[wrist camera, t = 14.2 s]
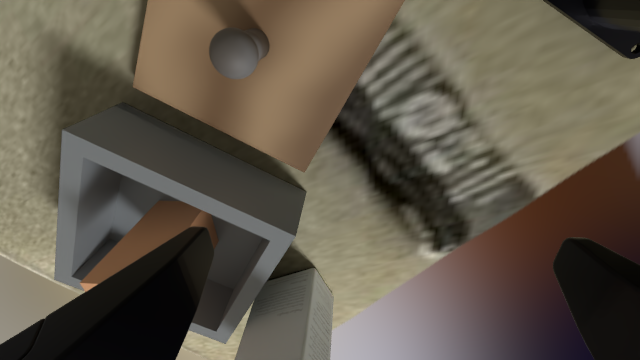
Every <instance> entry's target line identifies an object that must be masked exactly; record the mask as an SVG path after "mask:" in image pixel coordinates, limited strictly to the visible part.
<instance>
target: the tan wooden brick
mask: <svg viewBox="0 0 640 360" xmlns="http://www.w3.org/2000/svg"><path fill="white" fill-rule="evenodd" d="M192 226H200V227H206V228H207V229H208V231H209V234H210V237H211V241H212V244H213V248H214V249H215V247H216V245H217V243H218V242H219V240H218V237H217V233H216V230H215V226H214V223H213V219H212V215H211V214H209V213H207V212H205V211H203V210H200V209H198V208H196V207H194V206H191V205H189V204H187V203H185V202H182V201H158V202H157V203H156V204H155V205H154V206H153V207H152V208H151V209H150V210H149V211H148V212H147V213H146V214H145V215H144V216H143V217H142V218H141V220H140V221H139V222H138V223H137V224H136V225H135V226H134V227H133V228H132V229H131V230H130V231H129V232H128V233H127V234H126V235H125V236H124V237H123V238H122V239H121V240H120V241H119V242H118V243H117V245H116V246H115V247H114V248H113V249H112V250H111V251H110V252H109V253H108V254H107V255H106V256H105V257H104V258H103V259H102V260H101V261H100V262H99V263H98V264H97V265H96V266H95V267H94V268H93V269H92V271H91V272H90V273H89V274H88V275H87V276H86V277H85V278H84V279H83V280H82V281H81V282H80V284H81V286H82V287H83V289H84V290H85V292H86V291H88V290H89V289H91V288H93V287H94V286H96V285H97V284H99V283H101V282H102V281H104V280H106V279H107V278H109V277H110V276H112V275H114V274H115V273H117V272H118V271H120V270H122V269H123V268H125V267H126V266H128V265H130V264H131V263H133V262H134V261H136V260H138V259H139V258H141V257H143V256H144V255H146V254H147V253H149V252H151V251H152V250H154V249H155V248H157V247H159V246H160V245H162V244H163V243H165V242H167V241H168V240H170V239H171V238H173V237H175V236H176V235H178V234H179V233H181V232H183V231H184V230H186V229H187V228H189V227H192Z"/></svg>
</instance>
